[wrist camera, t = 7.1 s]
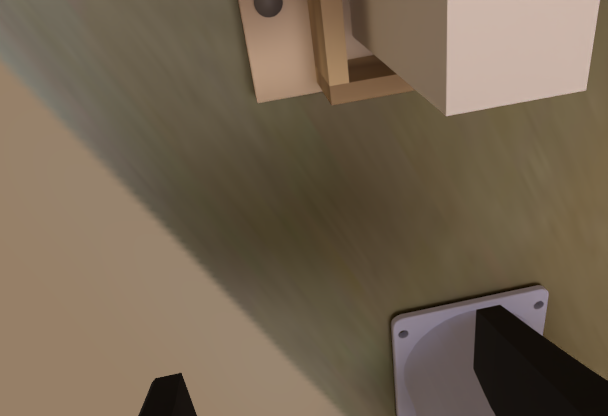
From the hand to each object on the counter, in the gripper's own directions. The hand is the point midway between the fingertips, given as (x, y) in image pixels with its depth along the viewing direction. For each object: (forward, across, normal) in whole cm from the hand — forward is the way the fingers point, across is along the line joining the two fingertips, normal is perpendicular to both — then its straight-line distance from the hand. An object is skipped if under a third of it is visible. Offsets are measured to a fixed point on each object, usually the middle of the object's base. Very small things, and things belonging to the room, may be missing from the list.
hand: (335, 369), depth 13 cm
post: (+9, -4, -7) cm, 12 cm away
